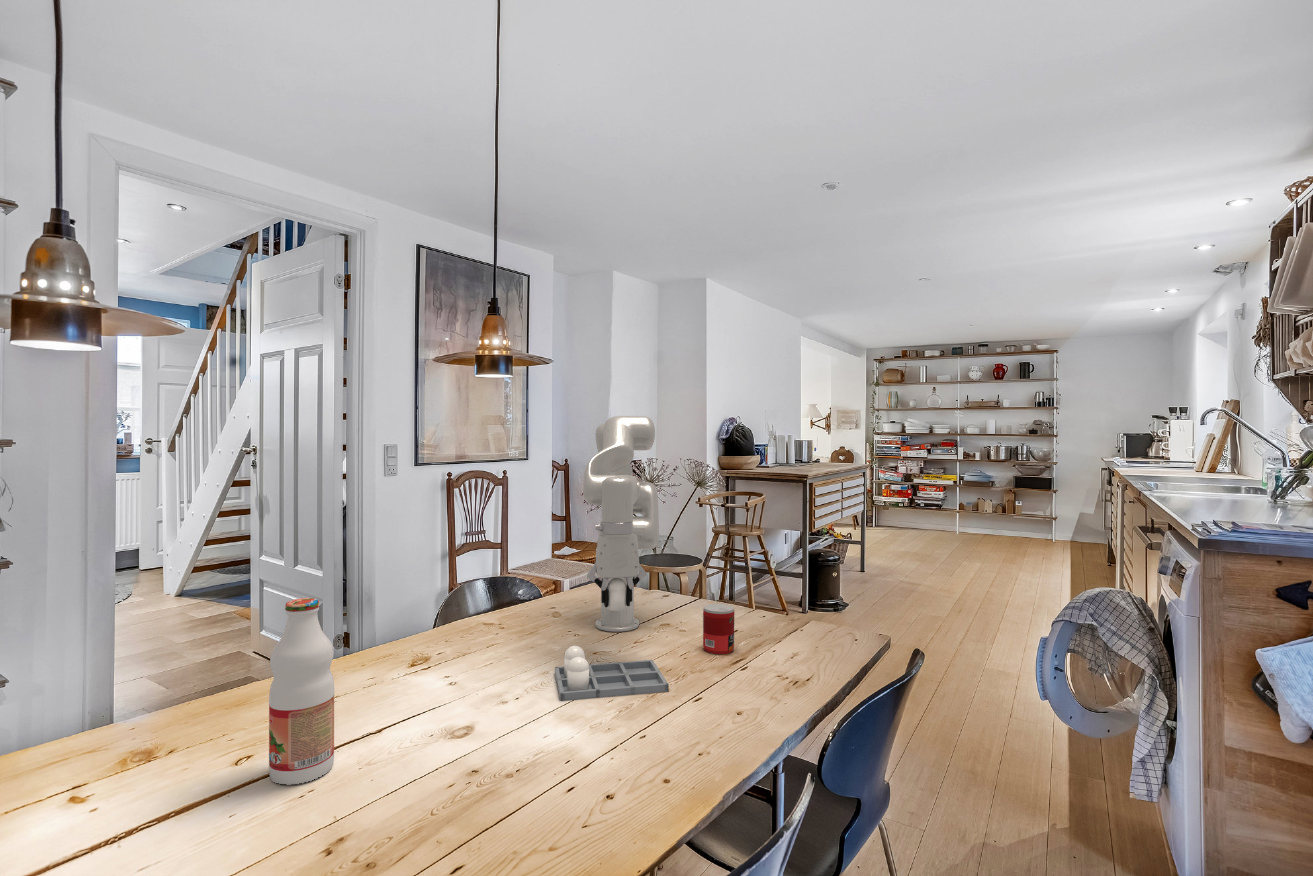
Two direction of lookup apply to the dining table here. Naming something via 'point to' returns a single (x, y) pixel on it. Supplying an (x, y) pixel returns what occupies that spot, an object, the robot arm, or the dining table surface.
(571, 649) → the seated egg
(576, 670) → the seated egg
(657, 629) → the dining table surface
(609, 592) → the loose egg
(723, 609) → the canned food
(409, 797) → the dining table surface
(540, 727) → the dining table surface
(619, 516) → the robot arm
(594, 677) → the egg carton
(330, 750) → the fruit juice
